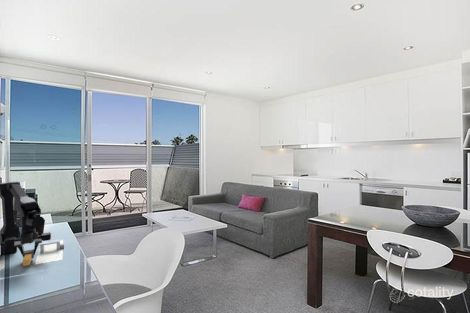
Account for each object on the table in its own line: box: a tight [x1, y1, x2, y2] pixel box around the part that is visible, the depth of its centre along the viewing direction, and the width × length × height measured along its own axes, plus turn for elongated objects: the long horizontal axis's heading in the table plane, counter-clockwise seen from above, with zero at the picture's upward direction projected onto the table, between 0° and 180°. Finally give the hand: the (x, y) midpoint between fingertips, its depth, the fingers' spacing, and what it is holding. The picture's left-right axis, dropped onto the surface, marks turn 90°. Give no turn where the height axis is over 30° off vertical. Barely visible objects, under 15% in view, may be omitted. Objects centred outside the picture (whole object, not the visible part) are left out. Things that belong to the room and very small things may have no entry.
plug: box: [22, 248, 35, 267], centre depth 132 cm, size 4×14×3 cm, turn 33°
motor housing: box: [39, 239, 65, 253], centre depth 151 cm, size 11×5×5 cm, turn 122°
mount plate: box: [34, 239, 64, 266], centre depth 150 cm, size 12×38×1 cm, turn 32°
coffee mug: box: [35, 222, 46, 236], centre depth 178 cm, size 12×9×10 cm
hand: (28, 255), depth 136 cm, fingers closed on plug, 4 cm apart
